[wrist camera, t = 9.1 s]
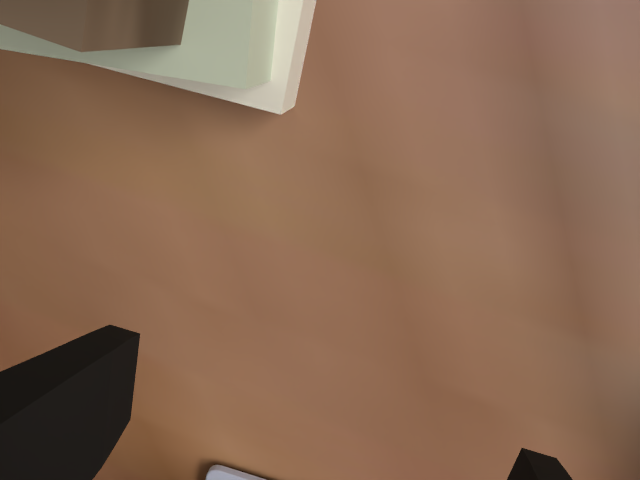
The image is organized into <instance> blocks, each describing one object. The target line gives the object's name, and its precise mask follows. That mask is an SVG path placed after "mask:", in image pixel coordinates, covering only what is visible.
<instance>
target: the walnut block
mask: <svg viewBox="0 0 640 480" xmlns="http://www.w3.org/2000/svg"><path fill="white" fill-rule="evenodd" d="M188 4H189V0H0V24H1V25H3V26H6V27H9V28H12V29H15V30H18V31H21V32H24V33H27V34H30V35H32V36H35V37H38V38H41V39H44V40H47V41H50V42H53V43H56V44H58V45H61V46H64V47H67V48H70V49H73V50H76V51H79V52H91V51H104V50H118V49H131V48H144V47H158V46H171V45H181V41H182V35H183V30H184V25H185V20H186V15H187V9H188Z"/></svg>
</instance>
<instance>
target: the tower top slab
mask: <svg viewBox="0 0 640 480" xmlns="http://www.w3.org/2000/svg"><path fill="white" fill-rule="evenodd" d="M277 11H278V0H189V4H188V9H187V15H186V20H185V25H184V30H183V35H182V41H181V45H171V46H158V47H144V48H131V49H118V50H104V51H91V52H79V51H76V50H73V49H70V48H67V47H64V46H61V45H58V44H56V43H53V42H50V41H47V40H44V39H41V38H38V37H35V36H32V35H30V34H27V33H24V32H21V31H18V30H15V29H12V28H9V27H6V26H3V25H1V24H0V49H3V50H9V51H15V52H21V53H27V54H33V55H40V56H46V57H52V58H58V59H64V60H70V61H76V62H82V63H88V64H94V65H101V66H107V67H113V68H119V69H125V70H131V71H137V72H143V73H149V74H155V75H162V76H168V77H174V78H180V79H186V80H192V81H198V82H204V83H210V84H216V85H223V86H229V87H235V88H241V89H248V88H251V87H254V86H257V85H259V84H262V83H265V82H268V81H271V72H272V62H273V52H274V41H275V31H276V21H277Z"/></svg>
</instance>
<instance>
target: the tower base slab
mask: <svg viewBox="0 0 640 480" xmlns="http://www.w3.org/2000/svg"><path fill="white" fill-rule="evenodd" d="M315 4H316V0H278V11H277V21H276V31H275V41H274V52H273V62H272V72H271V81H268V82H265V83H262V84H259V85H257V86H254V87H251V88H248V89H241V88H235V87H229V86H223V85H216V84H210V83H204V82H198V81H192V80H186V79H180V78H174V77H168V76H162V75H155V74H149V73H143V72H137V71H131V70H125V69H119V68H113V67H107V66H101V65H95V66H98V67H102V68H106V69H110V70H114V71H117V72H121V73H125V74H129V75H132V76H136V77H140V78H144V79H148V80H151V81H155V82H159V83H163V84H167V85H170V86H174V87H178V88H182V89H186V90H189V91H193V92H197V93H201V94H204V95H208V96H212V97H216V98H220V99H223V100H227V101H231V102H235V103H239V104H242V105H246V106H250V107H254V108H258V109H261V110H265V111H269V112H273V113H276V114H280V115H281V114H283V113H284V112H286V111H288V110H290V109H291V108H293V107H295V102H296V97H297V92H298V87H299V82H300V77H301V73H302V68H303V63H304V58H305V53H306V48H307V43H308V38H309V34H310V29H311V24H312V19H313V14H314V9H315ZM87 64H88V63H87ZM91 65H94V64H91Z"/></svg>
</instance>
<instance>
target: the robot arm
mask: <svg viewBox="0 0 640 480" xmlns="http://www.w3.org/2000/svg"><path fill="white" fill-rule="evenodd" d="M139 338H140V334H139V333H136V332H133V331H129V330H126V329H123V328H119V327H116V326H113V325H108V326H105V327H103V328H100V329H98V330H95V331H93V332H91V333H88V334H86V335H84V336H81V337H79V338H77V339H75V340H72V341H70V342H68V343H66V344H63V345H61V346H59V347H57V348H54V349H52V350H50V351H48V352H45V353H43V354H41V355H38V356H36V357H34V358H31V359H29V360H27V361H24V362H22V363H20V364H18V365H15V366H13V367H11V368H8V369H6V370H3V371H1V372H0V480H92V479H93V478H94V477H95V475H96V474H97V473H98V471H99V470H100V469H101V467H102V466H103V464H104V463H105V461H106V460H107V458H108V456H109V455H110V453H111V451H112V450H113V448H114V446H115V445H116V443H117V441H118V440H119V438H120V436H121V435H122V433H123V431H124V429H125V428H126V426H127V424H128V422H129V421H130V418H131V409H132V400H133V391H134V382H135V374H136V365H137V356H138V347H139ZM206 480H266V479H263V478H260V477H257V476H254V475H250V474H247V473H244V472H241V471H238V470H235V469H231V468H228V467H225V466H222V465H213V466H212V467H210V469H209V471H208V473H207V475H206ZM507 480H572V478H571V477H570V475H569V474H568V473H567V471H566V470H565V469H564V467H563V466H562V465H561V464H560V462H559V461H558V460H557V458H554V457H551V456H547V455H544V454H541V453H537V452H534V451H531V450H527V449H524V448H522V449H521V451H520V453H519V455H518V457H517V459H516V462H515V464H514V466H513V468H512V470H511V472H510V474H509V476H508V479H507Z"/></svg>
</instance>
